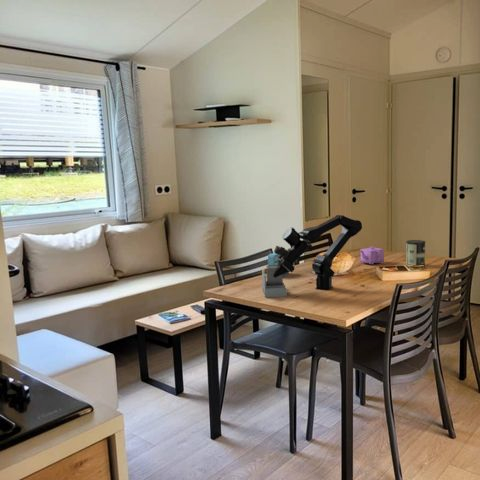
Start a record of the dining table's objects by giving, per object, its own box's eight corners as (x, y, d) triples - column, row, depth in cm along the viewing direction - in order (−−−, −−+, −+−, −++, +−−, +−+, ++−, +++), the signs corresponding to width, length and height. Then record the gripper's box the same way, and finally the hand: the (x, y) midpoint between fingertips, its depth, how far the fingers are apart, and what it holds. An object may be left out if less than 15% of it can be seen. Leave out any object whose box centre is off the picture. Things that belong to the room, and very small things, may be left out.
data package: (274, 277, 276) (273, 255, 274) (268, 276, 279) (267, 254, 278) (289, 273, 284) (288, 252, 282) (283, 272, 287) (282, 251, 286)
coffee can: (424, 264, 295) (425, 239, 293) (425, 267, 286) (425, 242, 284) (405, 264, 298) (406, 239, 296) (405, 267, 289) (406, 242, 287)
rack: (282, 288, 250) (282, 264, 248) (286, 296, 235) (286, 271, 233) (262, 289, 250) (261, 265, 248) (264, 297, 234) (264, 271, 233)
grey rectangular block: (282, 289, 244) (281, 264, 242) (282, 291, 241) (282, 266, 239) (267, 290, 244) (266, 265, 242) (267, 292, 241) (267, 266, 239)
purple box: (366, 267, 293) (366, 249, 292) (350, 263, 305) (350, 246, 304) (390, 263, 301) (390, 246, 300) (374, 260, 314) (374, 243, 312)
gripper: (281, 237, 248) (259, 260, 249) (286, 242, 230) (262, 268, 231) (298, 252, 249) (276, 276, 251) (304, 259, 231) (280, 284, 232)
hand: (273, 275), depth 241 cm, fingers open, 4 cm apart
